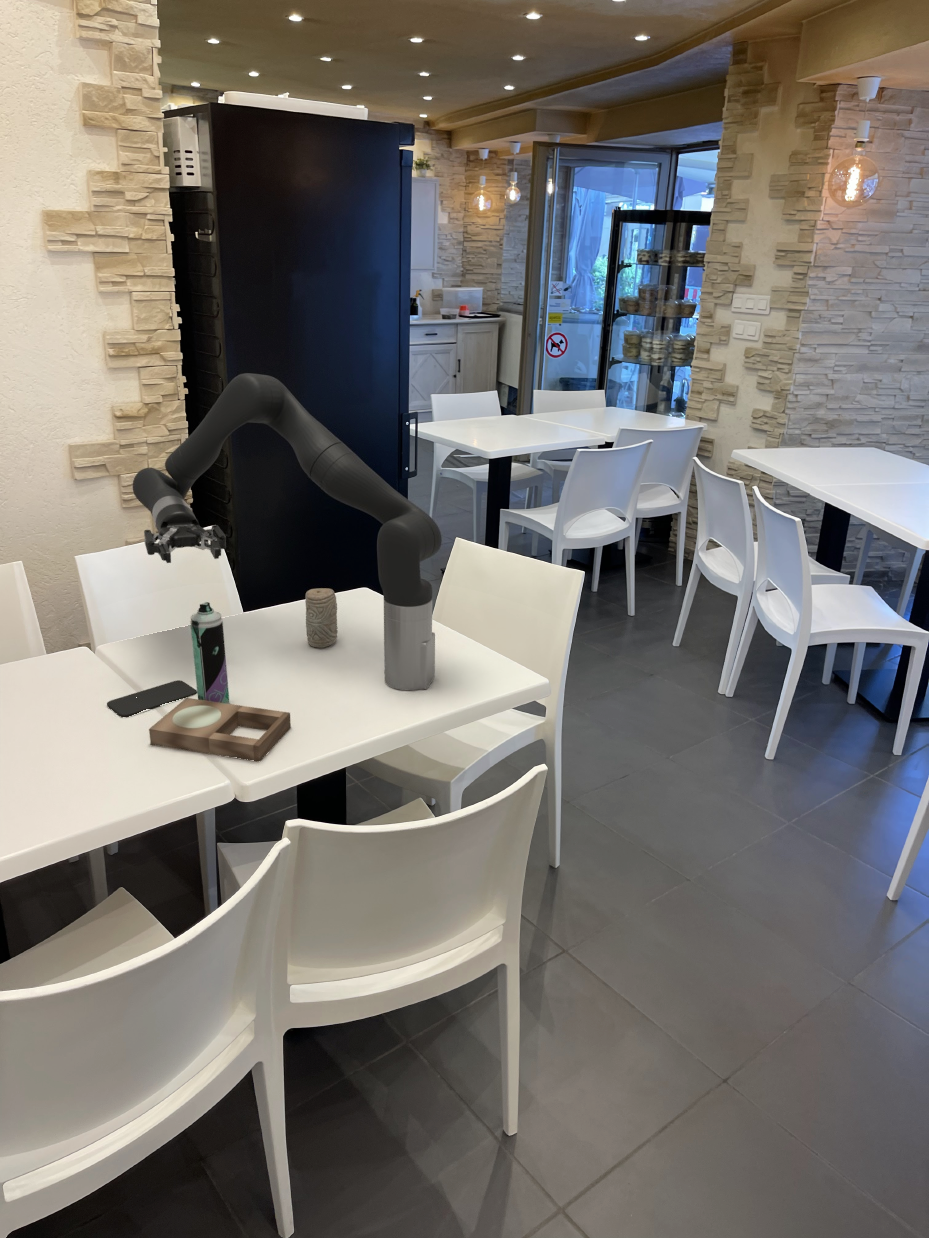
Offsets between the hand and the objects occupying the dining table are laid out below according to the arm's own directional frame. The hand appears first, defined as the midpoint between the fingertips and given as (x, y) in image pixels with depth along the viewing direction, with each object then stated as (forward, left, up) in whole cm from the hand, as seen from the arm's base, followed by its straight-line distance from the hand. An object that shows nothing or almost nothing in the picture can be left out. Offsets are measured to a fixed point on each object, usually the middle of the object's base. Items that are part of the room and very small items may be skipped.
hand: (193, 556), depth 163 cm
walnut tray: (-13, +17, -26) cm, 34 cm away
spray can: (-6, +7, -26) cm, 28 cm away
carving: (-14, -25, -26) cm, 39 cm away
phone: (+6, +8, -26) cm, 28 cm away
